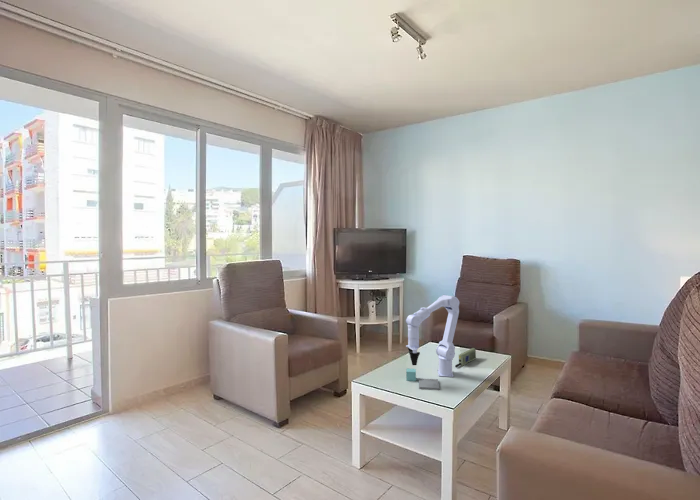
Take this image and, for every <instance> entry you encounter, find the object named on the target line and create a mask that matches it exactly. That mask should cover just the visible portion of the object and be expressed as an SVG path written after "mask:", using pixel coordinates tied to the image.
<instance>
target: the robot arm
mask: <svg viewBox="0 0 700 500" xmlns="http://www.w3.org/2000/svg"><path fill="white" fill-rule="evenodd" d="M441 307H443V308H445V310H446V311H447V313H448V314H447V318H446V323H445V328H444V332H443V337H442V340H440V341H439V342H438V344H437V347H436V349H435V353H436V354H437V357H438V369H437V375H438V377H447V378H448V377H450V378H451V377H453V378H454V373H453V359H454V358H455V355H456V352H455V349H456V347H455V345H454V343H453V340H454V337H455V332H456V329H457V328H456V327H457V324H458V319H459V314H460V300H459V299H458V297H457V296H452V295H447V294H442V295H440V296H439V297H438V298H437V299H436V300H435V301H434V302H432V303H431V304H430V305H429V306H427V307H420V308H419V310H417V311H416V312H413V314H409V315H408V316H407V317H406V319H405V323H406V325H407V345H405V347H406V348H407V350H408V354H409V357H410V360H411V364H412V366H417V364H418V360H419V356H420V355H421V353H420V352H419V351H418V350H419V348H420V329H419V328H420V326H421V324H422V322H424V321H425V320H426V319H428V318H429V317H430V316H431V313H432V312H435V311H436V310H438V309H440V308H441Z"/></svg>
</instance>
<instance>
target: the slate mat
mask: <svg viewBox="0 0 700 500" xmlns="http://www.w3.org/2000/svg"><path fill="white" fill-rule="evenodd" d="M418 389H419V390H435V391H439V390H440V385H439V379H437V378H418Z"/></svg>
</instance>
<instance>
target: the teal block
mask: <svg viewBox="0 0 700 500" xmlns="http://www.w3.org/2000/svg"><path fill="white" fill-rule="evenodd" d="M405 370H406V371H405V372H406V373H405V374H406V377H405V378H406V381H408V382H416V381H417V371H416V370H417V369H416V368H406V369H405Z"/></svg>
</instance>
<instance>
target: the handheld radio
mask: <svg viewBox="0 0 700 500" xmlns="http://www.w3.org/2000/svg"><path fill="white" fill-rule="evenodd" d="M475 358H476V359H477V353H476V348H474V347H472V348H470V349H468V350H465V351H463V352H462V353H460V354H458V363H457V364H455V368H458V367H460V365H461V367H463V366H466V365H467V364H469V363H470V361H471V362H472V361H474V360H475ZM468 362H469V363H468Z"/></svg>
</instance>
